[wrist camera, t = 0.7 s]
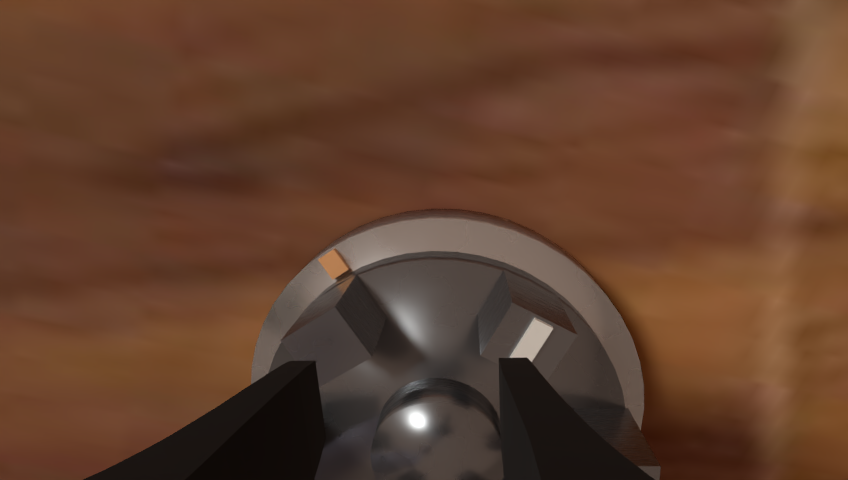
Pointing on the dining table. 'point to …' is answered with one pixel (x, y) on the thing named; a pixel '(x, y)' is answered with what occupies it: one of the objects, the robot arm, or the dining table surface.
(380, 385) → the finned metal hub
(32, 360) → the dining table surface
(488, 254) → the cap base
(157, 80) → the dining table surface
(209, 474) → the robot arm
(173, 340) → the dining table surface
